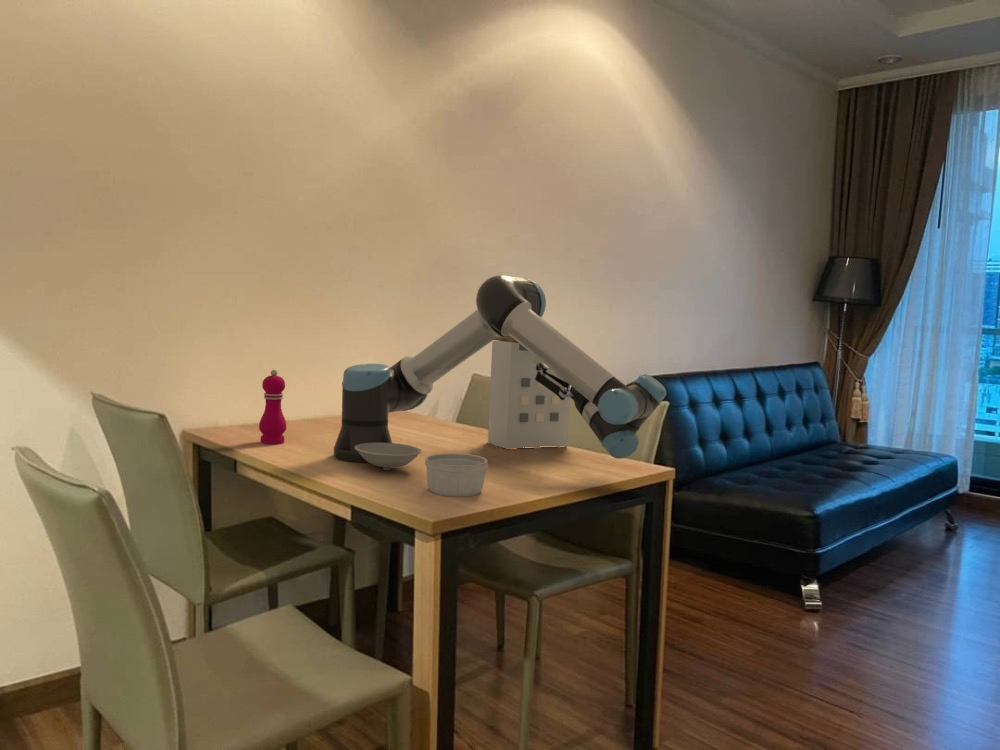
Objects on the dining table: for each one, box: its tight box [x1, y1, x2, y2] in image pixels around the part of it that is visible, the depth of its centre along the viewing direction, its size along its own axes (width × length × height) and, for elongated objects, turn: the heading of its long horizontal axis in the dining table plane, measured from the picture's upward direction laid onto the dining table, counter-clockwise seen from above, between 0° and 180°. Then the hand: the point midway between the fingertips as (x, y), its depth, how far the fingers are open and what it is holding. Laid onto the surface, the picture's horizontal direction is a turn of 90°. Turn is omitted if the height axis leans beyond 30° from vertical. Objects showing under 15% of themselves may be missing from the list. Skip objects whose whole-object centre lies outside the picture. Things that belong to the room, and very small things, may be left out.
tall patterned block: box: [487, 340, 571, 450], centre depth 227 cm, size 13×20×30 cm, turn 117°
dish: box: [354, 442, 422, 471], centre depth 184 cm, size 18×14×5 cm
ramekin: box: [424, 452, 488, 498], centre depth 165 cm, size 13×13×7 cm
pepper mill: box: [258, 369, 287, 445], centre depth 211 cm, size 7×7×20 cm
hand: (558, 358), depth 203 cm, fingers open, 13 cm apart
